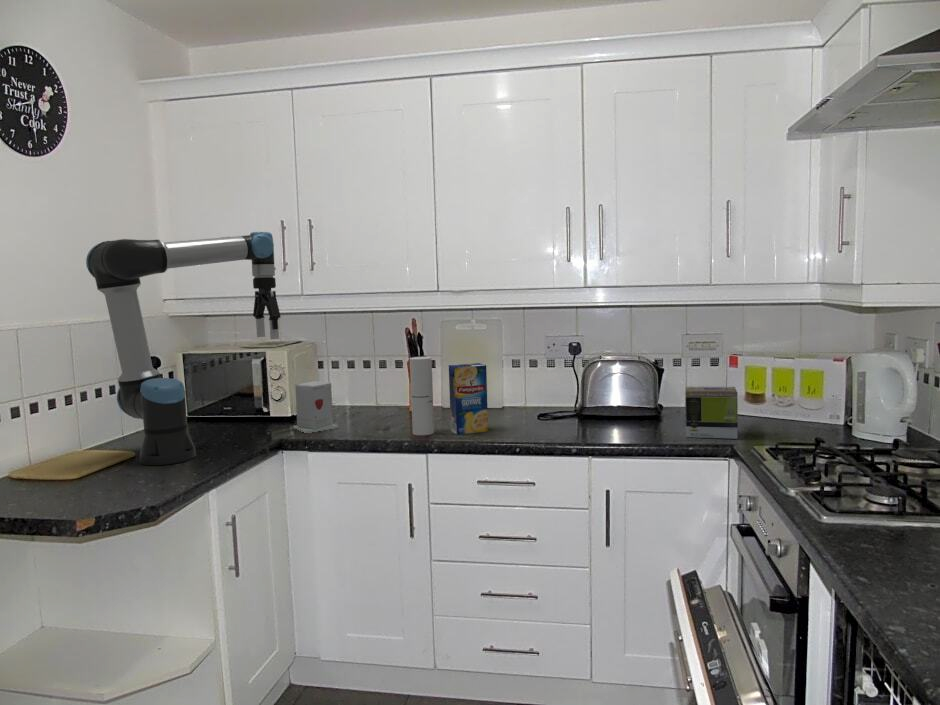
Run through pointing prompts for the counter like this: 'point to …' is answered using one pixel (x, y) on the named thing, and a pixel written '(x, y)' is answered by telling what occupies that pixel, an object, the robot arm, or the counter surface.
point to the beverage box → (468, 398)
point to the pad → (309, 430)
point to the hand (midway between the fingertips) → (267, 338)
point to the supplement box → (314, 404)
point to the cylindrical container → (422, 395)
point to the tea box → (711, 412)
